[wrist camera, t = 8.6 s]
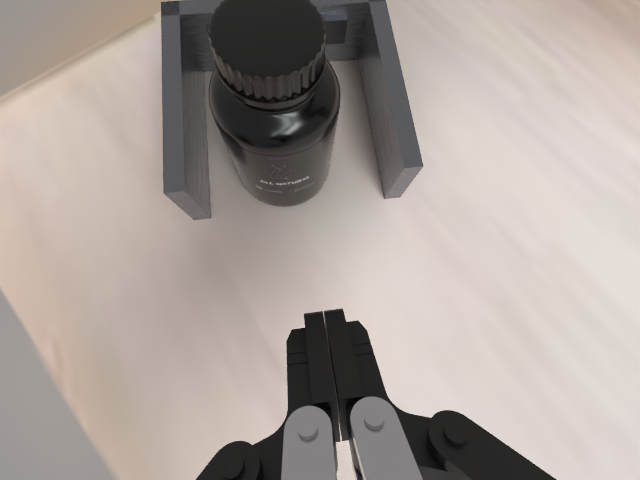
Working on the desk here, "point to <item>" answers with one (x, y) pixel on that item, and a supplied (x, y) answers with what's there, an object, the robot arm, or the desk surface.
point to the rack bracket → (341, 44)
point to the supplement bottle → (274, 96)
